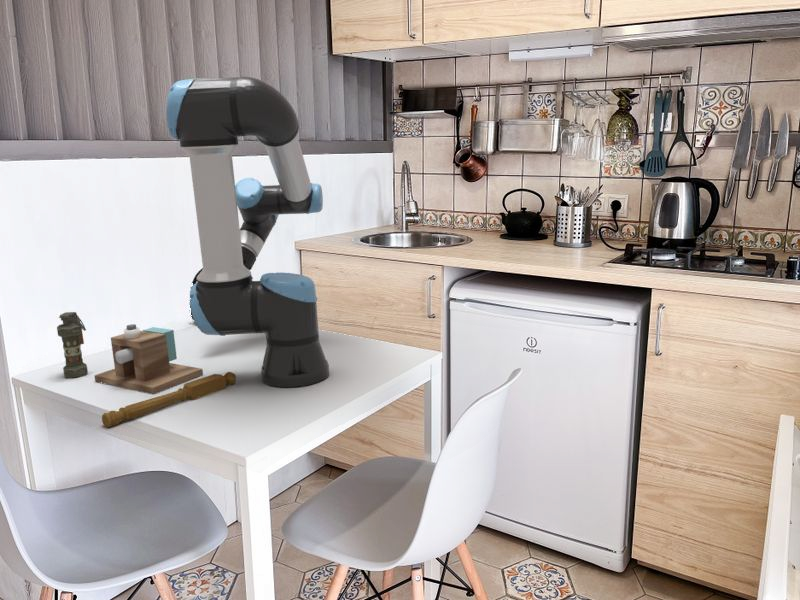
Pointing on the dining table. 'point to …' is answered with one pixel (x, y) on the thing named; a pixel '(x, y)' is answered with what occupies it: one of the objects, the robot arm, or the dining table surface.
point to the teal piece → (128, 354)
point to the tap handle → (170, 398)
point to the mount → (146, 365)
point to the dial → (131, 332)
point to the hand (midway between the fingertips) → (203, 327)
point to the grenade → (72, 344)
